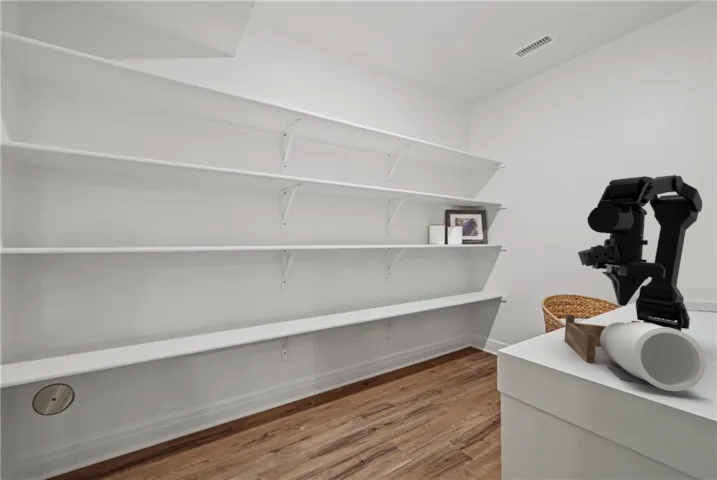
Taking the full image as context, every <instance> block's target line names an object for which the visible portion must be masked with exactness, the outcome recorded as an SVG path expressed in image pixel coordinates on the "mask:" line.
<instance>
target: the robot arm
mask: <svg viewBox="0 0 717 480" xmlns="http://www.w3.org/2000/svg"><path fill="white" fill-rule="evenodd" d="M675 192H676V194H671V195H669V194H668V195H667V193H675ZM661 194H666V195H661ZM659 195H661V196H659ZM647 204H649V205H650V207H651V208H652V210H653V212H654V215H653V217H654V219H656V221H657V223H658V225H659V226H660V228H659V235H658V238H657V239H658V240H657V247H656V251H655V257H654V262H647V259H645V258H644V259H643V251H644V250H643V249H644V246H648V243H649V241H648V240H646V239H644V236H645V235H644V233H645V220H646V219H645V218H646V216H647V215H648V211H647V210H646V209H645V208H643V207H645V206H646V205H647ZM702 209H703V200H702V197H701V195H700V193H699V190H698V189H697V188H695V187H693V186H692V185H690V184H689V183H686V182H684V180H683V178H682V176H681V175H676V174H674V175H665V176H656V177H655V178H654V177H651V176H646V175H645V176H644V175H643V176H637V177H636V176H635V177H628V178H625V177H624V178H619V179H612V180H610V181H609V183H608V185H606V187H605V190H604V191H603V193H602V195H601V197H600V199H599V202H598V203H597V206H596V207H594V208H593V209H592V210H591V211H590V212H589V214H588V216H587V219H586V220H587V224H588V226H589V228H590V229H591V230H592V231H594V232H596V233H600V234H609V238H605V240H604V242H603V243H604V244H603V245H602V244H597V245H595V246H591V247H590V248H588V249H584V250H580V251H577V254H578V257H579V260H580V263H581V265H582V266H586V267H592V269H595V270H600V269H602V270H603V269H604V270H606V271H602V272H601V273H602V274H603V275H605V276H606V277H607V278H608V279H609V280H610V281H611V284H612V287H613V290H614V291H613V292H614V293H615V297H616V302H617V304H618V306H620V307H621V306H622V307H626V306H627V304H628V303H629V302H630V300H632V298H633V296H634V295H635V294H636V292H637V291H638V290H639V294H638V297H637V298H636V300H635V310H636V321H642V322H645V323H651V324H655V325H659V326H662V327H668V328H673V329H676V330H679V331H682V329H685V330H689V329H690V323H691V322H690V320H691V318H690V316H689V313H688V311H687V307H686V306H685V305H686V304H684V300H685V299H684V296H683V294H682V293H681V292H680V290H679V288H678V286H677V285H678V278H679V274H680V273H679V272H680V265H681V262H682V261H681V260H682V255H683V254H682V253H683V249H684V242H685V237H686V232H687V231H686V230H688V229H690V228H691V226H693V224H694V223H696V222H697V220H698V216H699V213H700V212H702ZM649 278H651V279H650V281H649V282H648V283H646V284H645V285H642V284H643V283H644V282H645V281H646V280H649Z"/></svg>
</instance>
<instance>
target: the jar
mask: <svg viewBox="0 0 717 480" xmlns="http://www.w3.org/2000/svg"><path fill="white" fill-rule="evenodd" d="M606 326H607V327H605V328H604V330H603V331H602V333H601V336H600V344H601V346H600V347H601V349H602V351H603V353H604V354H605V355H606V356H607V357H608V358H610V359H611V360H613V361H614V362H615V363H616V364H617V365H619V366H620V367H621V369H625V370H626V371H627V372H629V373H630V374H632V375H634V376H636V377H638V378H640V379H643V380H645V381H648V382H649V383H651V384H650V385H652V384H653V385H652V386H655V387H656V388H659V389H661V390H664V391H668V392H669V391H670V392H681V391H686V390H689V389H691V388H693V387H695V386H696V385H698V384H699V382H700V381H701V380H702V379H703V377H704V375H705V372H706V370H707V369H706V367H707V359H706V356H705V353H704V351H703V349H702V347H701V346H700V345H699V343H698V342H697V340H695V339H694V338H693V337H692V336H690V334H689V335H688V334H687V333H685V332H684V331H682V330H681V331H679V330H676V329H673V328H668V327H662V326H659V325H655V324H651V323H645V322H644V321H642V322H641V321H639V322H633V323H632V321H631V322H622V321H621V322H620V321H617V322H612V323H610V324H608V325H606Z"/></svg>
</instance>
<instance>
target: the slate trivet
mask: <svg viewBox="0 0 717 480" xmlns="http://www.w3.org/2000/svg"><path fill="white" fill-rule="evenodd" d="M607 369H608V370H609V371H611V372H612V373H613V374H614V375H615V376H616V377H618V378H619V379H620V380H621V381H627V382H632V383H633V382H634V383H639V384H647V385H652V386H654V385H653V384H651V383H649V382H648V381H645V380H643V379H640V378H638V377H636V376H634V375H632V374H630V373H629V372H627V371H626V370H625V369H624V368H622V367H621V368H620V367H619V368H618V367H613V366H607Z"/></svg>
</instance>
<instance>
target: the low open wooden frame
mask: <svg viewBox="0 0 717 480" xmlns="http://www.w3.org/2000/svg"><path fill="white" fill-rule="evenodd" d="M575 318H576V316H575V315H574V314H571V313H566V315H565V329H564V342H566V343H567V345H568V346H570V348H571V349H572V350H574V352H575V353H577V354H578V355H579V357H581V358H582V359H583V360H584V361H585V362H586V363H589V364H596V351H597V349H596V347H601V344H600V336H601V333H602V331H603V330H604V328H605V327H607V326H608V325H601V324H600V325H599V324H592V323H591V324H589V323H581V322H575ZM631 322H632V323H633V322H640V320H631Z"/></svg>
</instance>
